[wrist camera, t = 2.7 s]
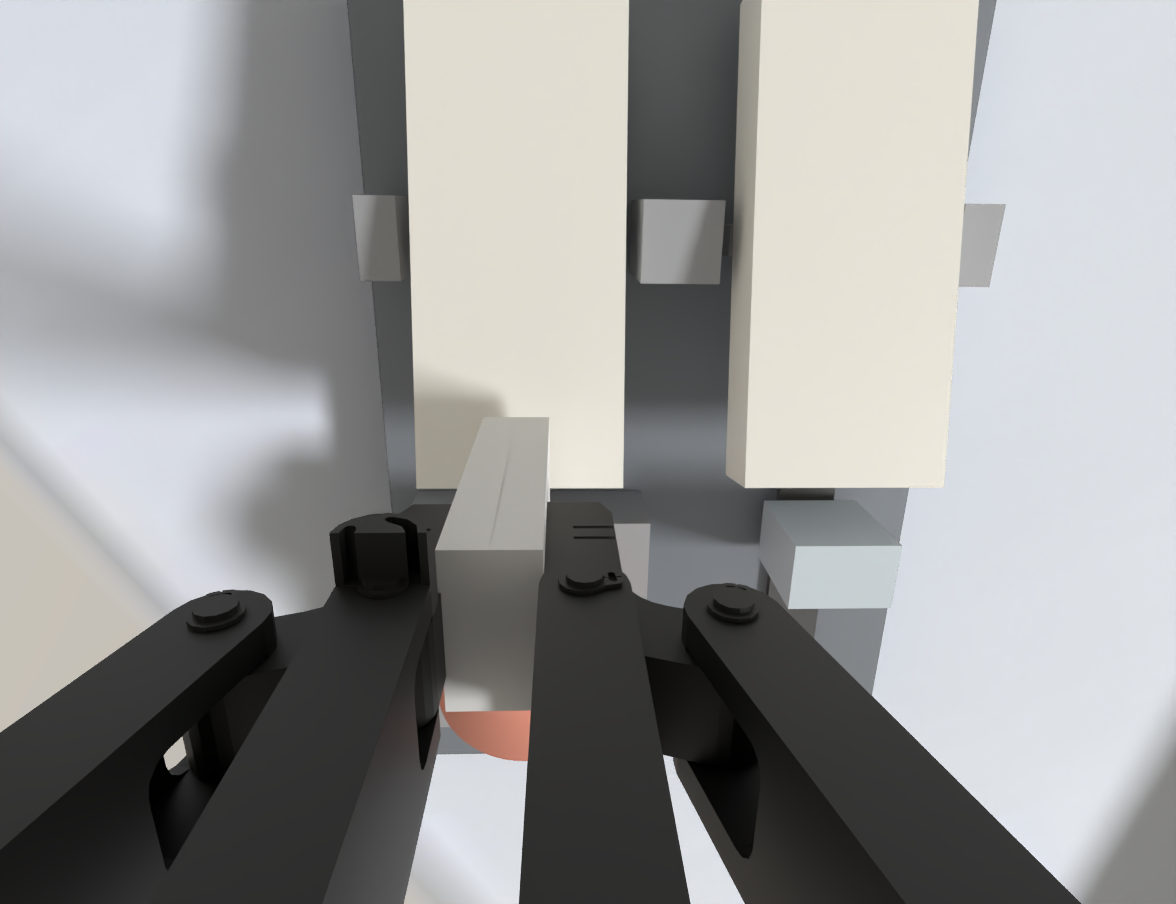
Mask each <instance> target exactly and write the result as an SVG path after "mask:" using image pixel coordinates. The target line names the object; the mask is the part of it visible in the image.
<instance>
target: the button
mask: <svg viewBox="0 0 1176 904" xmlns="http://www.w3.org/2000/svg"><path fill="white" fill-rule="evenodd" d="M440 708H441V711H442V713H443V715H444V717H445V719H446V721H447V723H448V724H449V726H450V727H451V729H452V730H453V731H454V732H455V733H456V734H457V735H458V736H459V737H460V738H461V739H462V740H463V741H465V742H466V743H467V744H469V745H470V746H472V747H473V748H475V749H477V750H479V751H481V752H483V753H486V754H488V755H491V756H494V757H498V758H502V759H507V760H514V761H528V749H529V733H530V716H531V710H528V711H463V712H446V711H445V695H444V688H443V692H442V696H441V700H440Z"/></svg>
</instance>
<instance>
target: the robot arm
mask: <svg viewBox="0 0 1176 904" xmlns="http://www.w3.org/2000/svg"><path fill="white" fill-rule="evenodd" d="M329 534H330V543H331V551H332V559H333V568H334V576H335V584H336V587H335V588H334V590H333V592H332V593H331V595H330V597H329V598H328V600H327V602H326V604H325V605H324V607H322V608H318V609H314V610H310V611H306V612H300V613H295V614H289V615H284V616H278V617H274V612H273V606H272V601H271V600H270V599H269V598H268V597H266V596H265V595H264V594H261V593H257V592H254V591H248V590H223V591H222V592H220V591H217V592H213V593H209V594H207V595H206V596H203V597H200V598H197V599H194V600H191V601H189V602H187V603H186V604H184V605H182V606H180V607H178V608H176V609H175V610H173V611H172V612H170V613H169V614H167V615H166V616H164V617H163V618H162V619H160V620H159V621H157V622H156V623H155V624H153V625H152V626H150V627H149V628H148V629H146V630H145V631H143V632H142V633H140V634H139V635H138V636H136V637H135V638H133V639H132V640H131V641H129V642H128V643H126V644H125V645H124V646H122V647H121V648H119V649H118V650H116V651H115V652H114V653H112V654H111V655H109V656H108V657H107V658H105V659H104V660H102V661H101V662H99V663H98V664H97V665H95V666H94V667H92V668H91V669H90V670H88V671H87V672H85V673H84V674H83V675H81V676H80V677H78V678H77V679H75V680H74V681H73V682H71V683H70V684H68V685H67V686H66V687H64V688H63V689H61V690H60V691H59V692H57V693H56V694H54V695H53V696H52V697H50V698H49V699H47V700H46V701H45V702H43V703H42V704H40V705H39V706H37V707H36V708H34V709H33V710H32V711H30V712H29V713H28V714H26V715H25V716H23V717H22V718H20V719H19V720H18V721H16V722H15V723H14V724H12V725H11V726H9V727H8V728H6V729H5V730H3V731H2V732H1V733H0V904H404V899H405V895H406V890H407V886H408V881H409V877H410V872H411V868H412V863H413V858H414V854H415V849H416V845H417V840H418V836H419V831H420V827H421V822H422V818H423V813H424V809H425V804H426V800H427V795H428V791H429V786H430V782H431V777H432V773H433V768H434V764H435V759H436V755H437V750H438V746H439V741H440V737H441V733H440V717H439V704H440V700H441V696H442V692H443V688H444V695H445V711H446V712H463V711H528V710H531V716H530V733H529V749H528V765H527V782H526V798H525V814H524V831H523V847H522V863H521V879H520V896H519V904H690V899H689V894H688V888H687V883H686V878H685V872H684V867H683V861H682V856H681V851H680V845H679V840H678V835H677V829H676V824H675V818H674V813H673V808H672V802H671V797H670V791H669V786H668V781H667V775H666V770H665V764H664V759H663V755H667V756H671V757H673V761H674V765H675V769H676V773H677V775H678V777H679V779H680V781H681V783H682V785H683V786H684V788H685V790H686V792H687V794H688V796H689V798H690V800H691V802H692V804H693V806H694V807H695V809H696V811H697V813H698V815H699V817H700V819H701V821H702V823H703V825H704V827H705V828H706V830H707V832H708V834H709V836H710V838H711V840H712V842H713V844H714V846H715V847H716V849H717V851H718V853H719V855H720V857H721V859H722V861H723V863H724V865H725V867H726V868H727V870H728V872H729V874H730V876H731V878H732V880H733V882H734V884H735V886H736V888H737V889H738V891H739V893H740V895H741V897H742V899H743V901H744V903H745V904H1081V903H1080V902H1079V901H1078V900H1077V899H1076V898H1075V897H1074V896H1073V895H1072V894H1071V893H1070V892H1069V891H1068V890H1067V889H1066V888H1065V887H1064V886H1063V885H1062V884H1061V883H1060V882H1059V881H1058V880H1057V879H1056V878H1055V877H1054V876H1053V875H1052V874H1051V873H1050V872H1049V871H1048V870H1047V869H1046V868H1045V867H1044V866H1043V865H1042V864H1041V863H1040V862H1039V861H1038V860H1037V859H1036V858H1035V857H1034V856H1033V855H1032V854H1031V853H1030V852H1029V851H1028V850H1027V849H1026V848H1025V847H1024V846H1023V845H1022V844H1021V843H1020V842H1019V841H1017V840H1016V839H1015V838H1014V837H1013V836H1012V835H1011V834H1010V833H1009V832H1008V831H1007V830H1006V829H1005V828H1004V827H1003V826H1002V825H1001V824H1000V823H999V822H998V821H997V820H996V819H995V818H994V817H993V816H992V815H991V814H990V813H989V812H988V811H987V810H986V809H985V808H984V807H983V806H982V805H981V804H980V803H979V802H978V801H977V800H976V799H975V798H974V797H973V796H972V795H971V794H970V793H969V792H968V791H967V790H966V789H965V788H964V787H963V786H962V785H961V784H960V783H959V782H958V781H957V780H956V779H955V778H954V777H953V776H952V775H951V774H950V773H949V772H948V771H947V770H946V769H945V768H944V767H943V766H942V765H941V764H940V763H939V762H938V761H937V760H936V759H935V758H934V757H933V756H932V755H931V754H930V753H929V752H928V751H927V750H926V749H925V748H924V747H923V746H922V745H921V744H920V743H919V742H918V741H917V740H916V739H915V738H914V737H913V736H912V735H911V734H910V733H909V732H908V731H907V730H906V729H905V728H904V727H903V726H902V725H901V724H900V723H899V722H898V721H897V720H896V719H895V718H894V717H893V716H892V715H891V714H890V713H889V712H888V711H887V710H886V709H885V708H884V707H883V706H882V705H881V704H879V703H878V702H877V701H876V700H875V699H874V698H873V697H872V696H871V695H870V694H869V693H868V692H867V691H866V690H865V689H864V688H863V687H862V686H861V685H860V684H859V683H858V682H857V681H856V680H855V679H854V678H853V677H852V676H851V675H850V674H849V673H848V672H847V671H846V670H845V669H844V668H843V667H842V666H841V665H840V664H839V663H838V662H837V661H836V660H835V659H834V658H833V657H832V656H831V655H830V654H829V653H828V652H827V651H826V650H825V649H824V648H823V647H822V646H821V645H820V644H819V643H818V642H817V641H816V640H815V639H814V638H813V637H812V636H811V635H810V634H809V633H808V632H807V631H806V630H805V629H804V628H803V627H802V626H801V625H800V624H799V623H798V622H797V621H796V620H795V619H794V618H793V617H792V616H791V615H790V614H789V613H788V612H787V611H786V610H785V609H784V608H783V607H782V606H781V605H780V604H779V603H778V602H777V601H775V600H774V599H772V598H771V597H770V596H768V595H767V594H765V593H764V592H761V591H758V590H756V589H753V588H750V587H748V586H746V585H741V584H738V585H736V583H724V584H710V585H706V586H703V587H699V588H696V589H695V590H694V591H692V592H691V593H689V594H688V595H687V597H686V599H685V602H684V606H683V608H677V607H672V606H666V605H662V604H658V603H654V602H651V601H649V600H646V599H644V598H641V597H640V596H638V595H637V594H635V593H634V592H632V587H631V582H630V581H629V579H628V577H627V576H626V574H624V573H623V572H622V568H621V563H620V557H619V551H618V545H617V539H616V534H615V528H614V522H613V516H612V512H610V511H609V510H608V509H607V508H606V507H605V506H603V505H602V504H601V503H600V502H550V426H549V417H484V418H483V420H482V423H481V426H480V428H479V431H478V434H477V437H476V439H475V442H474V445H473V448H472V450H471V453H470V456H469V459H468V461H467V464H466V467H465V469H464V472H463V475H462V478H461V480H460V483H459V486H458V489H457V491H456V494H455V497H454V500H453V502H452V504H413V505H411V506H410V507H408V508H407V509H405V510H404V511H402V512H401V513H399V514H395V513H384V514H372V515H367V516H363V517H358V518H354V519H351V520H349V521H347V522H345V523H342V524H340V525H338V526H337V527H336V528H335V529H334V530H332V531H331V532H330V533H329ZM182 736H183V741H184V745H185V750H186V756H185V757H184V758H183V759H182V760H181V761H180V762H179V764H177V765H176V766H175V767H173V768H172V769H170V770H168V769H167V768H166V765H165V760H164V756H163V755H164V754H165V753H166V751H167V750H168V749H169V748H170V747H171V746H172V745H173V744H174V743H175V742H176V741H177V740H178V739H180V737H182Z"/></svg>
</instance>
